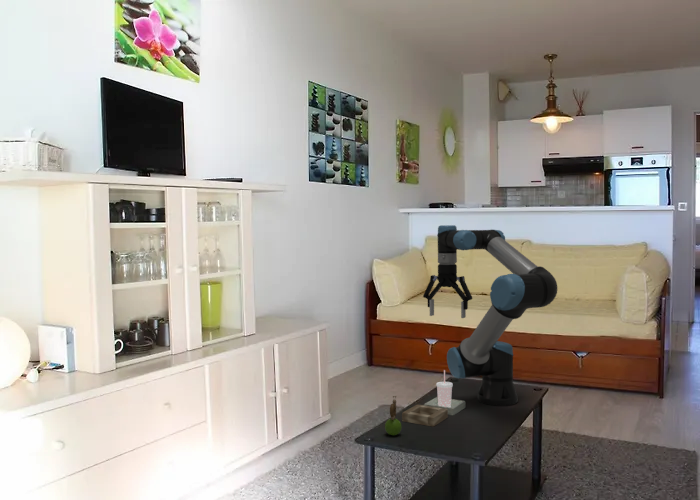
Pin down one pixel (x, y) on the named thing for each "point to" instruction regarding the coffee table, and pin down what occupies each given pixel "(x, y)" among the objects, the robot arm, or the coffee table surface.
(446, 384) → the beverage cup
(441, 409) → the socket holder
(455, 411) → the tray
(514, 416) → the coffee table surface
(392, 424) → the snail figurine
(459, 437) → the coffee table surface
